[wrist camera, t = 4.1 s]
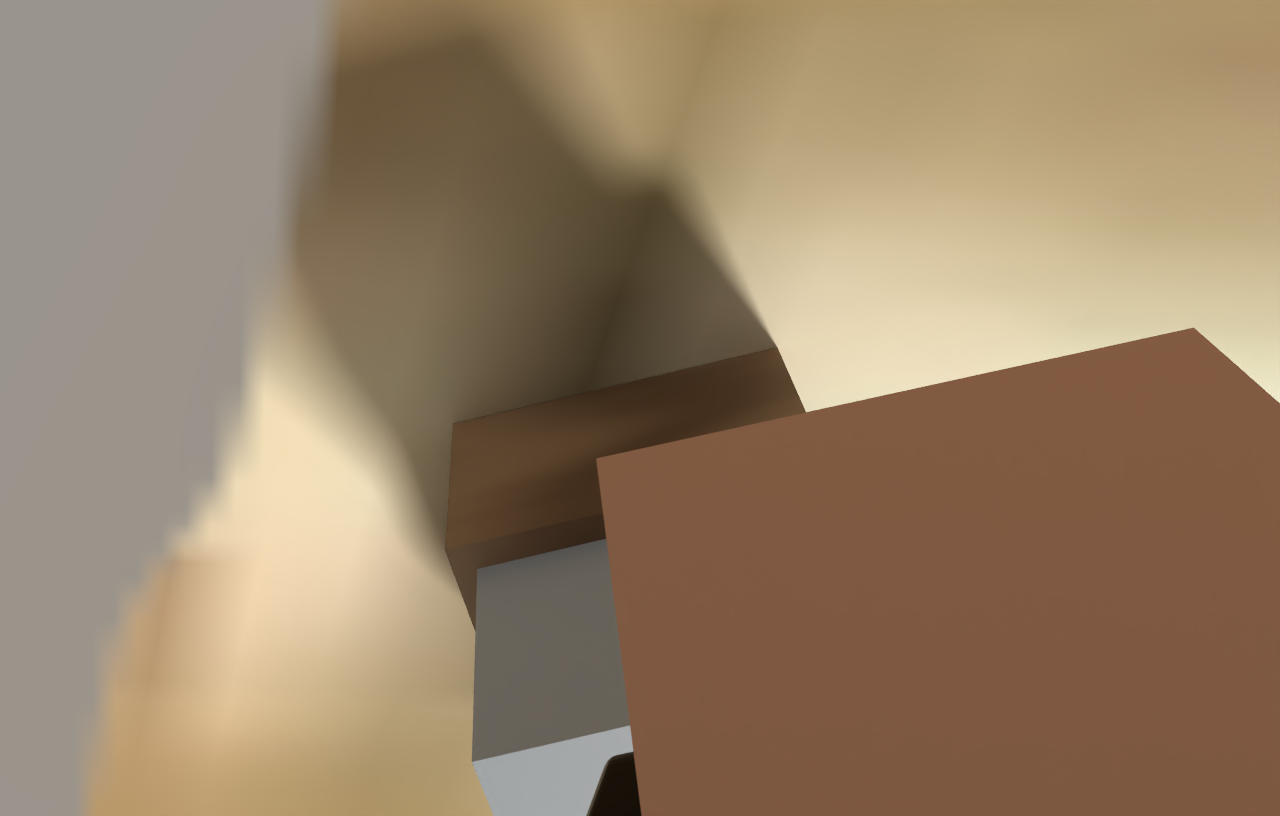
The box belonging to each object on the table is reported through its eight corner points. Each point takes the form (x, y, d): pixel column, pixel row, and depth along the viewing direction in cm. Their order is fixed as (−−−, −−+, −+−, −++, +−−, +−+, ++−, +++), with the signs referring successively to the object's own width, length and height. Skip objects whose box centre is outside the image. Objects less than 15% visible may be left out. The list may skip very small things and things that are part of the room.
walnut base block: (775, 342, 22) (827, 460, 18) (818, 593, 25) (870, 736, 21) (453, 417, 22) (445, 550, 18) (535, 659, 25) (541, 811, 21)
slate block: (791, 495, 19) (857, 672, 15) (832, 723, 21) (897, 919, 18) (477, 568, 19) (471, 762, 15) (555, 787, 21) (566, 995, 18)
